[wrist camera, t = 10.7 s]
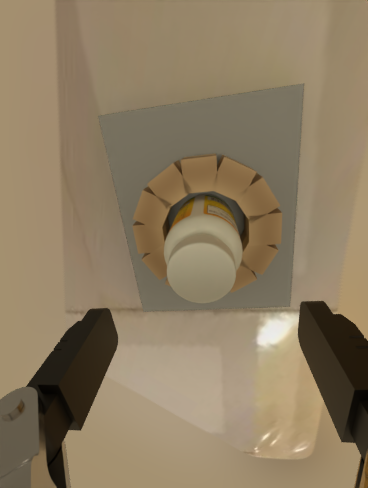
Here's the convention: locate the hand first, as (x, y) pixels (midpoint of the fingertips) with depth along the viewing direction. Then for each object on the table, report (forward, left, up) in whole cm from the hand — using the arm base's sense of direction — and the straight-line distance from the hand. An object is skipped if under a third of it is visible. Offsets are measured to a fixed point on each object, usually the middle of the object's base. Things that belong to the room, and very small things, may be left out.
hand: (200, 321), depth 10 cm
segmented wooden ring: (0, 0, -13) cm, 13 cm away
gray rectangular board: (0, 0, -15) cm, 15 cm away
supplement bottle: (0, 0, -14) cm, 14 cm away
